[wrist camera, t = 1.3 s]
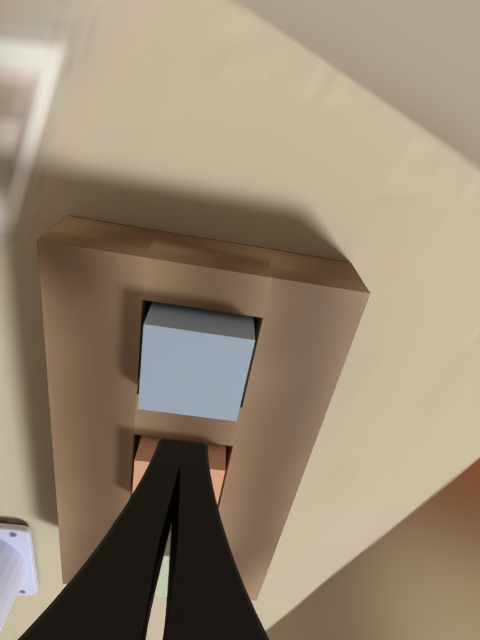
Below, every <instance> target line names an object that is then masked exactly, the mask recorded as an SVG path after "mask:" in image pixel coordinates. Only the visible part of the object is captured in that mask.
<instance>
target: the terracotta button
mask: <svg viewBox="0 0 480 640" xmlns="http://www.w3.org/2000/svg"><path fill="white" fill-rule="evenodd" d="M161 439H162V438H161V437H153V436H144V435H141V439H140V442H139V446H138V450H137V453H136V457H135V461H134V476H133V491H132V494H133V492H134V490H135V489H136V487H137V485H138V484H139V482H140V480H141V478H142V477H143V475H144V473H145V471H146V469H147V467H148V465H149V463H150V461H151V459H152V456H153V454H154V452H155V449H156V447H157V444H158V441H159V440H161ZM165 439H169V438H165ZM173 440H178V439H173ZM181 441H186V440H181ZM189 442H194V441H189ZM198 443H202V442H198ZM205 444H206V445H207V446H208V457H209V466H210V473H211V478H212V484H213V489H214V493H215V497H216V501H217V505H218V500H219V496H220V492H221V487H222V483H223V479H224V474H225V464H226V445H219V444H211V443H205Z"/></svg>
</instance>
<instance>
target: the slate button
mask: <svg viewBox="0 0 480 640" xmlns="http://www.w3.org/2000/svg"><path fill="white" fill-rule="evenodd" d="M254 343H255V330H254V316H247V315H241V314H234V313H227V312H221V311H214V310H207V309H201V308H194V307H187V306H181V305H174V304H167V303H160V302H154V301H152V304H151V306H150V309H149V312H148V314H147V317H146V319H145V322H144V326H143V341H142V356H141V371H140V386H139V401H138V409H142V410H150V411H158V412H166V413H174V414H181V415H189V416H197V417H205V418H213V419H221V420H229V421H237V417H238V413H239V409H240V404H241V400H242V396H243V391H244V387H245V383H246V378H247V374H248V369H249V365H250V361H251V356H252V352H253V348H254Z"/></svg>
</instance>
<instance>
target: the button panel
mask: <svg viewBox="0 0 480 640" xmlns="http://www.w3.org/2000/svg"><path fill="white" fill-rule="evenodd" d="M37 248H38V261H39V274H40V287H41V301H42V314H43V327H44V341H45V354H46V367H47V381H48V394H49V407H50V420H51V434H52V447H53V460H54V474H55V487H56V500H57V513H58V527H59V540H60V553H61V567H62V580H63V584H68V583H69V582H70V581H71V579H72V578H73V577H74V576H75V575H76V573H77V572H78V571H79V570H80V568H81V567H82V566H83V565H84V563H85V562H86V561H87V559H88V558H89V557H90V556H91V554H92V553H93V552H94V550H95V549H96V548H97V546H98V545H99V544H100V542H101V541H102V539H103V538H104V537H105V535H106V534H107V532H108V531H109V529H110V528H111V526H112V525H113V523H114V522H115V520H116V519H117V517H118V516H119V515H120V513H121V512H122V510H123V509H124V507H125V505H126V504H127V502H128V501H129V499H130V497H131V496H132V491H133V476H134V461H135V457H136V453H137V450H138V446H139V442H140V439H141V435H144V436H153V437H161V438H169V439H178V440H186V441H194V442H202V443H211V444H219V445H226V464H225V474H224V479H223V483H222V487H221V492H220V496H219V500H218V509H219V513H220V517H221V520H222V524H223V527H224V530H225V534H226V537H227V540H228V543H229V546H230V549H231V552H232V555H233V557H234V560H235V563H236V566H237V568H238V571H239V573H240V576H241V578H242V581H243V584H244V586H245V588H246V591H247V593H248V595H249V598H250V600H257V598H258V595H259V592H260V590H261V587H262V584H263V582H264V579H265V576H266V573H267V571H268V568H269V565H270V563H271V560H272V557H273V555H274V552H275V549H276V546H277V544H278V541H279V538H280V536H281V533H282V530H283V528H284V525H285V522H286V519H287V517H288V514H289V511H290V509H291V506H292V503H293V501H294V498H295V495H296V492H297V490H298V487H299V484H300V482H301V479H302V476H303V474H304V471H305V468H306V465H307V463H308V460H309V457H310V455H311V452H312V449H313V446H314V444H315V441H316V438H317V436H318V433H319V430H320V428H321V425H322V422H323V419H324V417H325V414H326V411H327V409H328V406H329V403H330V401H331V398H332V395H333V392H334V390H335V387H336V384H337V382H338V379H339V376H340V374H341V371H342V368H343V365H344V363H345V360H346V357H347V355H348V352H349V349H350V347H351V344H352V341H353V338H354V336H355V333H356V330H357V328H358V325H359V322H360V319H361V317H362V314H363V311H364V309H365V306H366V303H367V301H368V298H369V295H370V292H369V291H368V289H367V287H366V286H365V284H364V283H363V281H362V279H361V278H360V276H359V275H358V273H357V271H356V270H355V268H354V267H353V265H352V263H350V262H344V261H338V260H332V259H326V258H320V257H314V256H308V255H302V254H296V253H290V252H284V251H278V250H272V249H266V248H260V247H254V246H248V245H242V244H236V243H230V242H224V241H218V240H211V239H205V238H199V237H193V236H187V235H181V234H175V233H169V232H163V231H157V230H151V229H145V228H139V227H133V226H127V225H121V224H115V223H109V222H103V221H97V220H91V219H85V218H78V217H72V216H67V217H66V218H65V219H63V220H62V221H61V222H60V223H58V224H57V225H56V226H54V227H53V228H52V229H51V230H49V231H48V232H47V233H46V234H44V235H43V236H42V237H40V238H39V239H38V240H37ZM152 301H154V302H160V303H167V304H174V305H181V306H187V307H194V308H201V309H207V310H214V311H221V312H227V313H234V314H241V315H247V316H254V330H255V343H254V348H253V352H252V356H251V361H250V365H249V369H248V374H247V378H246V383H245V387H244V391H243V396H242V400H241V404H240V409H239V413H238V417H237V421H229V420H221V419H213V418H205V417H197V416H189V415H181V414H174V413H166V412H158V411H150V410H142V409H138V401H139V386H140V371H141V356H142V341H143V326H144V322H145V319H146V317H147V314H148V312H149V309H150V306H151V304H152ZM171 525H172V524H171ZM170 531H171V528H170Z"/></svg>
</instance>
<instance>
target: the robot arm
mask: <svg viewBox="0 0 480 640" xmlns="http://www.w3.org/2000/svg"><path fill="white" fill-rule="evenodd" d="M171 524H172V525H171ZM170 528H171V541H170V557H169V573H168V589H167V605H166V616H165V627H164V634H163V640H269V638H268V637H267V634H266V632H265V630H264V628H263V626H262V624H261V622H260V620H259V618H258V615H257V613H256V611H255V609H254V607H253V605H252V602H251V600H250V598H249V595H248V593H247V591H246V588H245V586H244V584H243V581H242V578H241V576H240V573H239V571H238V568H237V566H236V563H235V560H234V557H233V555H232V552H231V549H230V546H229V543H228V540H227V537H226V534H225V530H224V527H223V524H222V520H221V517H220V513H219V509H218V505H217V501H216V497H215V493H214V489H213V484H212V478H211V473H210V466H209V457H208V446H207V445H206V444H205V443H198V442H189V441H181V440H173V439H165V438H162V439H161V440H159V441H158V444H157V447H156V449H155V452H154V454H153V456H152V459H151V461H150V463H149V465H148V467H147V469H146V471H145V473H144V475H143V477H142V478H141V480H140V482H139V484H138V485H137V487H136V489H135V490H134V492H133V494H132V496H131V497H130V499H129V501H128V502H127V504H126V505H125V507H124V509H123V510H122V512H121V513H120V515H119V516H118V517H117V519H116V520H115V522H114V523H113V525H112V526H111V528H110V529H109V531H108V532H107V534H106V535H105V537H104V538H103V539H102V541H101V542H100V544H99V545H98V546H97V548H96V549H95V550H94V552H93V553H92V554H91V556H90V557H89V558H88V559H87V561H86V562H85V563H84V565H83V566H82V567H81V568H80V570H79V571H78V572H77V573H76V575H75V576H74V577H73V578H72V579H71V581H70V582H69V583H68V584H67V585H66V587H65V588H64V589H63V590H62V591H61V593H60V594H59V595H58V596H57V597H56V598H55V600H54V601H53V602H52V603H51V604H50V605H49V606H48V608H47V609H46V610H45V611H44V612H43V613H42V614H41V615H40V616H39V617H38V619H37V620H36V621H35V622H34V623H33V624H32V625H31V626H30V627H29V628H28V629H27V630H26V631H25V633H24V634H23V635H22V636H21V637H20V638H19V639H18V640H146V633H147V627H148V622H149V617H150V612H151V608H152V603H153V599H154V595H155V591H156V587H157V582H158V578H159V574H160V570H161V566H162V562H163V557H164V553H165V549H166V545H167V541H168V536H169V532H170ZM37 591H38V581H37V573H36V566H35V558H34V550H33V543H32V535H31V530H30V528H29V527H27V526H24V525H15V524H5V523H0V632H1V629H2V627H3V625H4V622H5V620H6V618H7V615H8V613H9V611H10V609H11V606H12V604H13V602H14V599H15V597H16V595H27V596H33V595H35V594H36V593H37Z"/></svg>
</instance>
